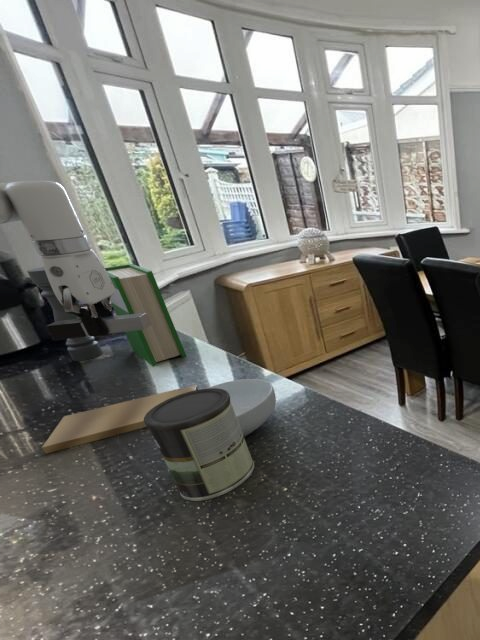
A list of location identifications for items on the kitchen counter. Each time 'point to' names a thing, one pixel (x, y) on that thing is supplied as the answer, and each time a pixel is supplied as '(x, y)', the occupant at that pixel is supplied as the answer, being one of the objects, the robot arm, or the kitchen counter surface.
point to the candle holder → (77, 346)
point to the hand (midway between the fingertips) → (104, 331)
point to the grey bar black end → (112, 323)
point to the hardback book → (145, 297)
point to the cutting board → (105, 421)
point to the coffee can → (201, 443)
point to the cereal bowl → (250, 401)
